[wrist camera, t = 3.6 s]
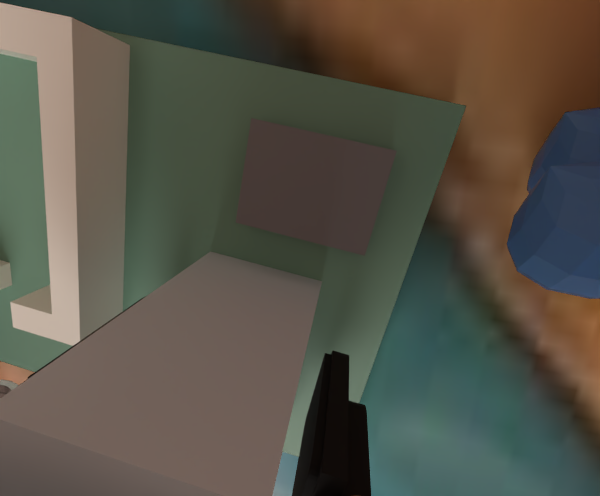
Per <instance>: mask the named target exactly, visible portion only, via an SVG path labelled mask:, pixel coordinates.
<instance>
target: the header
mask: <svg viewBox="0 0 600 496" xmlns="http://www.w3.org/2000/svg"><path fill="white" fill-rule="evenodd" d="M0 54H4V55H8V56H13V57H17V58H22V59H26V60H31V61H35V62H37V72H38V89H39V106H40V122H41V139H42V156H43V172H44V189H45V206H46V222H47V239H48V256H49V272H50V285H48V286H46V287H43V288H41V289H39V290H37V291H34V292H32V293H30V294H27V295H25V296H23V297H21V298H18V299H16V300H14V301H11V302H10V304H11V313H12V323H13V327H14V328H17V329H20V330H23V331H27V332H30V333H33V334H36V335H40V336H43V337H46V338H49V339H53V340H56V341H59V342H62V343H65V344H69V345H72V346H74V345H75V344H77V343H78V342H79V341H81V340H82V339H84V338H85V337H87V336H88V335H90V334H91V333H92V332H94V331H95V330H97V329H98V328H100V327H101V326H102V325H104V324H105V323H107V322H108V321H110V320H111V319H113V318H114V317H115V316H117V315H118V314H120V313H121V312H123V280H124V244H125V208H126V171H127V135H128V99H129V62H130V45H128V44H126V43H124V42H122V41H120V40H118V39H116V38H114V37H112V36H109V35H107V34H105V33H103V32H101V31H99V30H97V29H95V28H93V27H91V26H89V25H87V24H85V23H82V22H80V21H78V20H76V19H74V18H72V17H68V16H63V15H58V14H53V13H48V12H44V11H39V10H34V9H29V8H24V7H19V6H15V5H10V4H5V3H0ZM11 285H12V278H11V269H10V263H8V262H5V261H1V260H0V290H1V289H3V288H6V287H9V286H11Z"/></svg>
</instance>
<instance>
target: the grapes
mask: <svg viewBox="0 0 600 496" xmlns="http://www.w3.org/2000/svg"><path fill="white" fill-rule="evenodd" d="M527 190H528V192H529V195H528V196H527V198H526V199H525V201H524V202H523V204H522V205H521V207H520V208H519V210H518V211H517V213H516V214H515V216H514V219H513V223H512V227H511V230H510V234H509V238H508V242H507V247H508V250H509V252H510V255H511V257H512V259H513V262H514V264H515V267H516V269H517V271H518V272H519V273H521V274H523V275H524V276H526V277H527V278H529V279H531V280H532V281H534V282H535V283H537V284H539V285H540V286H542V287H543V288H545V289H547V290H552V291H556V292H561V293H566V294H570V295H575V296H580V297H585V298H589V299H600V107H599V108H592V109H584V110H577V111H570V112H565V113H564V115H563V116H562V118H561V119H560V120H559V122H558V123H557V125H556V126H555V128H554V129H553V130H552V132H551V133H550V135H549V136H548V138H547V139H546V141H545V143H544V144H543V146H542V147H541V149H540V151H539V152H538V154H537V155H536V157H535V159H534V161H533V165H532V169H531V172H530V176H529V180H528V186H527Z"/></svg>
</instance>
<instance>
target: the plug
mask: <svg viewBox="0 0 600 496" xmlns="http://www.w3.org/2000/svg"><path fill="white" fill-rule="evenodd" d="M321 284H322V281H319V280H315V279H311V278H307V277H304V276H300V275H296V274H292V273H289V272H285V271H281V270H278V269H274V268H270V267H266V266H263V265H259V264H255V263H252V262H248V261H244V260H240V259H237V258H233V257H229V256H225V255H222V254H218V253H214V252H211V251H210V252H209V253H208V254H206V255H205V256H203V257H202V258H200V259H199V260H198V261H196V262H195V263H193V264H192V265H190V266H189V267H188V268H186V269H185V270H183V271H182V272H180V273H179V274H178V275H176V276H175V277H173V278H172V279H170V280H169V281H168V282H166V283H165V284H163V285H162V286H160V287H159V288H158V289H156V290H155V291H153V292H152V293H150V294H149V295H148V296H146V297H145V298H143V299H142V300H140V301H139V302H137V303H136V304H135V305H133V306H132V307H130V308H129V309H127V310H126V311H125V312H123V313H122V314H120V315H119V316H117V317H116V318H115V319H113V320H112V321H110V322H109V323H107V324H106V325H105V326H103V327H102V328H100V329H99V330H97V331H96V332H95V333H93V334H92V335H90V336H89V337H87V338H86V339H85V340H83V341H82V342H80V343H79V344H77V345H76V346H75V347H73V348H72V349H70V350H69V351H67V352H66V353H65V354H63V355H62V356H60V357H59V358H57V359H56V360H55V361H53V362H52V363H50V364H49V365H47V366H46V367H45V368H43V369H42V370H40V371H39V372H37V373H36V374H34V375H33V376H32V377H30V378H29V379H27V380H26V381H24V382H23V383H22V384H20V385H19V386H17V387H16V388H14V389H13V390H12V391H10V392H9V393H7V394H6V395H4V396H3V397H2V398H0V496H272V494H273V489H274V485H275V481H276V477H277V472H278V468H279V464H280V459H281V455H282V451H283V447H284V442H285V438H286V434H287V429H288V425H289V421H290V417H291V412H292V408H293V404H294V400H295V395H296V391H297V387H298V382H299V378H300V374H301V370H302V365H303V361H304V357H305V353H306V348H307V344H308V340H309V335H310V331H311V327H312V323H313V318H314V314H315V310H316V306H317V301H318V297H319V293H320V288H321Z"/></svg>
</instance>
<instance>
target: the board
mask: <svg viewBox="0 0 600 496" xmlns="http://www.w3.org/2000/svg"><path fill="white" fill-rule="evenodd" d="M95 29H96V28H95ZM97 30H99V31H101V32H103V33H105V34H107V35H109V36H112V37H114V38H116V39H118V40H120V41H122V42H124V43H126V44H128V45H130V62H129V99H128V135H127V171H126V208H125V244H124V280H123V311H124V310H126V309H127V308H128V307H130V306H131V305H133V304H134V303H136V302H137V301H139V300H140V299H141V298H143V297H146V296H148V295H149V294H150V293H152V292H153V291H155V290H156V289H158V288H159V287H160V286H162V285H163V284H165V283H166V282H168V281H169V280H170V279H172V278H173V277H175V276H176V275H178V274H179V273H180V272H182V271H183V270H185V269H186V268H188V267H189V266H190V265H192V264H193V263H195V262H196V261H198V260H199V259H200V258H202V257H203V256H205V255H206V254H208V253H209V252H210V251H211V252H214V253H218V254H222V255H225V256H229V257H233V258H237V259H240V260H244V261H248V262H252V263H255V264H259V265H263V266H266V267H270V268H274V269H278V270H281V271H285V272H289V273H292V274H296V275H300V276H304V277H307V278H311V279H315V280H319V281H322V284H321V288H320V293H319V297H318V301H317V306H316V310H315V314H314V318H313V323H312V327H311V331H310V335H309V340H308V344H307V348H306V353H305V357H304V361H303V365H302V370H301V374H300V378H299V382H298V387H297V391H296V395H295V400H294V404H293V408H292V412H291V417H290V421H289V425H288V429H287V434H286V438H285V442H284V447H283V451H282V452H285V453H288V454H292V455H295V456H298V457H299V453H300V448H301V442H302V436H303V430H304V425H305V420H306V416H307V413H308V409H309V406H310V402H311V399H312V396H313V392H314V389H315V385H316V382H317V378H318V375H319V372H320V368H321V365H322V361H323V358H324V355H325V353H327V354H331V353H332V351H337V352H340V353H344V354H347V355H349V401H352V402H356V403H359V402H360V399H361V396H362V394H363V391H364V388H365V385H366V382H367V380H368V377H369V374H370V371H371V369H372V366H373V363H374V360H375V358H376V355H377V352H378V349H379V346H380V344H381V341H382V338H383V335H384V333H385V330H386V327H387V324H388V321H389V319H390V316H391V313H392V310H393V308H394V305H395V302H396V299H397V297H398V294H399V291H400V288H401V285H402V283H403V280H404V277H405V274H406V272H407V269H408V266H409V263H410V261H411V258H412V255H413V252H414V249H415V247H416V244H417V241H418V238H419V236H420V233H421V230H422V227H423V224H424V222H425V219H426V216H427V213H428V211H429V208H430V205H431V202H432V200H433V197H434V194H435V191H436V188H437V186H438V183H439V180H440V177H441V175H442V172H443V169H444V166H445V163H446V161H447V158H448V155H449V152H450V150H451V147H452V144H453V141H454V139H455V136H456V133H457V130H458V127H459V125H460V122H461V119H462V116H463V114H464V111H465V108H466V106H465V105H460V104H455V103H451V102H446V101H441V100H436V99H431V98H427V97H422V96H417V95H412V94H407V93H403V92H398V91H393V90H388V89H383V88H379V87H374V86H369V85H364V84H360V83H355V82H350V81H345V80H340V79H336V78H331V77H326V76H321V75H316V74H312V73H307V72H302V71H297V70H292V69H288V68H283V67H278V66H273V65H268V64H264V63H259V62H254V61H249V60H244V59H240V58H235V57H230V56H225V55H221V54H216V53H211V52H206V51H201V50H197V49H192V48H187V47H182V46H177V45H173V44H168V43H163V42H158V41H153V40H149V39H144V38H139V37H134V36H129V35H125V34H120V33H115V32H110V31H105V30H101V29H97ZM0 260H1V261H5V262H8V263H10V269H11V278H12V285H11V286H9V287H6V288H3V289H1V290H0V361H2V362H5V363H8V364H12V365H15V366H18V367H21V368H24V369H27V370H30V371H33V372H36V371H38V370H39V369H40V368H42V367H43V366H45V365H46V364H48V363H49V362H51V361H52V360H53V359H55V358H56V357H58V356H59V355H61V354H62V353H64V352H65V351H66V350H68V349H69V348H71V347H72V345H69V344H65V343H62V342H59V341H56V340H53V339H49V338H46V337H43V336H40V335H36V334H33V333H30V332H27V331H23V330H20V329H17V328H14V327H13V323H12V313H11V304H10V302H11V301H14V300H16V299H18V298H21V297H23V296H25V295H27V294H30V293H32V292H34V291H37V290H39V289H41V288H43V287H46V286H48V285H50V272H49V256H48V239H47V222H46V206H45V189H44V172H43V156H42V139H41V122H40V106H39V89H38V72H37V62H35V61H31V60H26V59H22V58H17V57H13V56H8V55H4V54H0Z"/></svg>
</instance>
